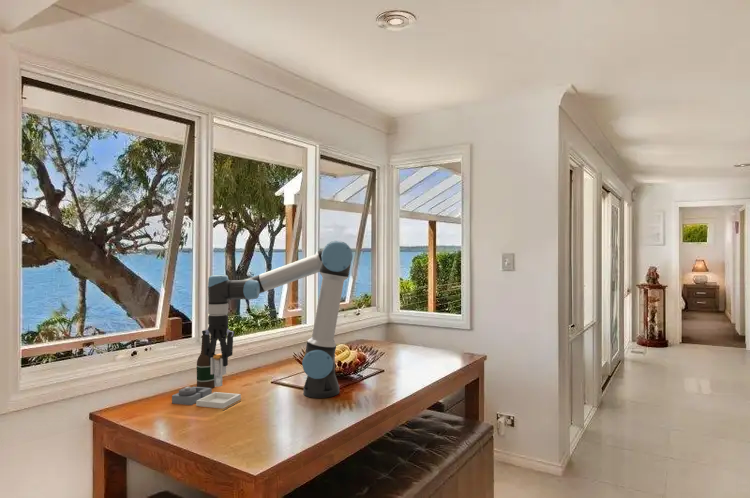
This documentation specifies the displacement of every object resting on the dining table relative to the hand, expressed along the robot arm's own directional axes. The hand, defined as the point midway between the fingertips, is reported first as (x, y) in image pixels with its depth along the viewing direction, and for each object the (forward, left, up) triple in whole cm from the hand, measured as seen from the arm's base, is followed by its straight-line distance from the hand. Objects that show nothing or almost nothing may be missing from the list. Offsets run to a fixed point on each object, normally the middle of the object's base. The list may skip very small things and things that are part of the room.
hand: (218, 373), depth 191 cm
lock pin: (0, 0, -5) cm, 5 cm away
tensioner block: (+13, -1, -12) cm, 18 cm away
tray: (0, 0, -12) cm, 12 cm away
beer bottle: (+18, -17, -12) cm, 28 cm away
